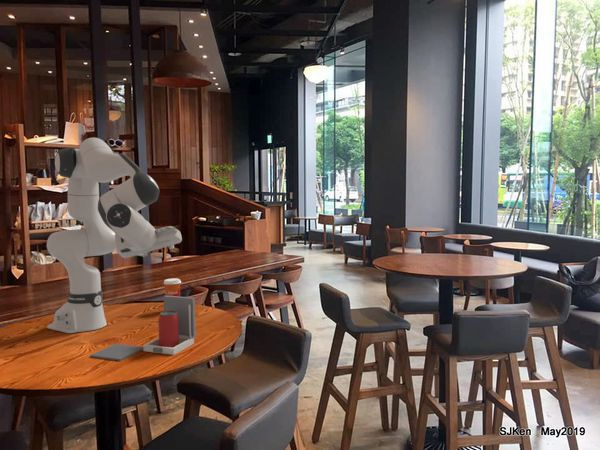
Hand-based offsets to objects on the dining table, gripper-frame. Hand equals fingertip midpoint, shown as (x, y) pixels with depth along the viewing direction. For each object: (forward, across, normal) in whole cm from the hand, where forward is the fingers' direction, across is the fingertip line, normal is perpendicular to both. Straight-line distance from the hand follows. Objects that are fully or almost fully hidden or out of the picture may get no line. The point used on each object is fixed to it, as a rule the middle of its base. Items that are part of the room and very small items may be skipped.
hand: (158, 250), depth 160 cm
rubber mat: (+8, +21, +28) cm, 36 cm away
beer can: (+14, +6, +30) cm, 33 cm away
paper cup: (+57, +16, +3) cm, 59 cm away
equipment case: (+14, +6, +30) cm, 33 cm away
